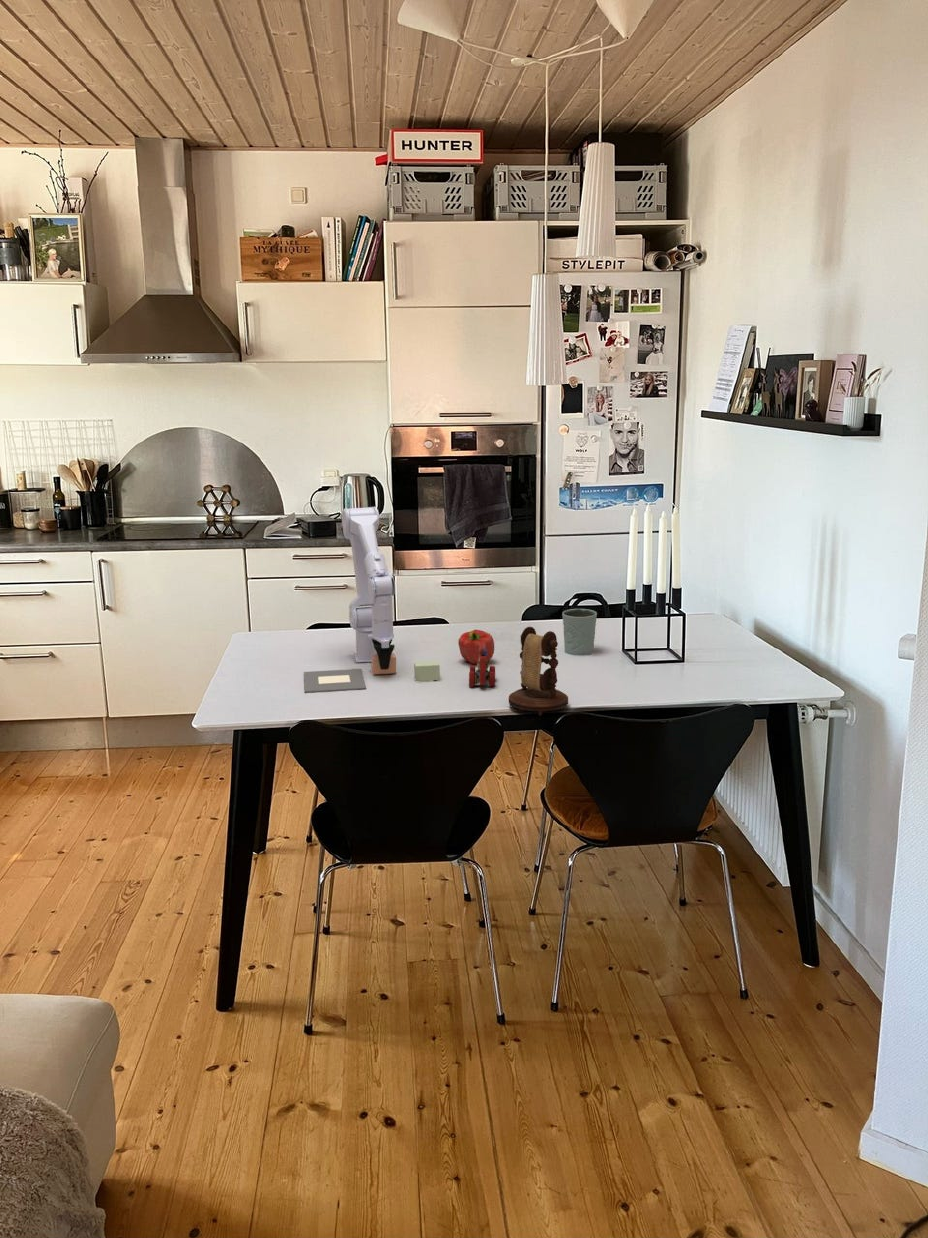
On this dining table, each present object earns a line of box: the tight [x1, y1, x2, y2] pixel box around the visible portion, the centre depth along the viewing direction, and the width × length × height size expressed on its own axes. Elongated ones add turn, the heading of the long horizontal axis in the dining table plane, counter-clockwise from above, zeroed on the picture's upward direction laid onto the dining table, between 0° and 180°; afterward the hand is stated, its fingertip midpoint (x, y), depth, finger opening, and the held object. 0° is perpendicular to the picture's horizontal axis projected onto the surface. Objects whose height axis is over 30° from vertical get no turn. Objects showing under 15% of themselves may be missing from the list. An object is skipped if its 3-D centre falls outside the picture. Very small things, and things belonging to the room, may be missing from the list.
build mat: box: [303, 668, 367, 694], centre depth 270 cm, size 18×16×1 cm
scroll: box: [508, 626, 569, 717], centre depth 245 cm, size 15×15×20 cm
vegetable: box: [457, 629, 495, 665], centre depth 285 cm, size 11×10×10 cm
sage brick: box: [413, 660, 441, 682], centre depth 270 cm, size 4×6×4 cm
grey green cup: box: [561, 608, 598, 656], centre depth 294 cm, size 10×10×12 cm
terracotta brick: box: [371, 652, 397, 675], centre depth 276 cm, size 4×6×4 cm
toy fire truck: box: [468, 642, 496, 687], centre depth 265 cm, size 7×12×10 cm, turn 178°
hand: (383, 666), depth 276 cm, fingers closed on terracotta brick, 4 cm apart
